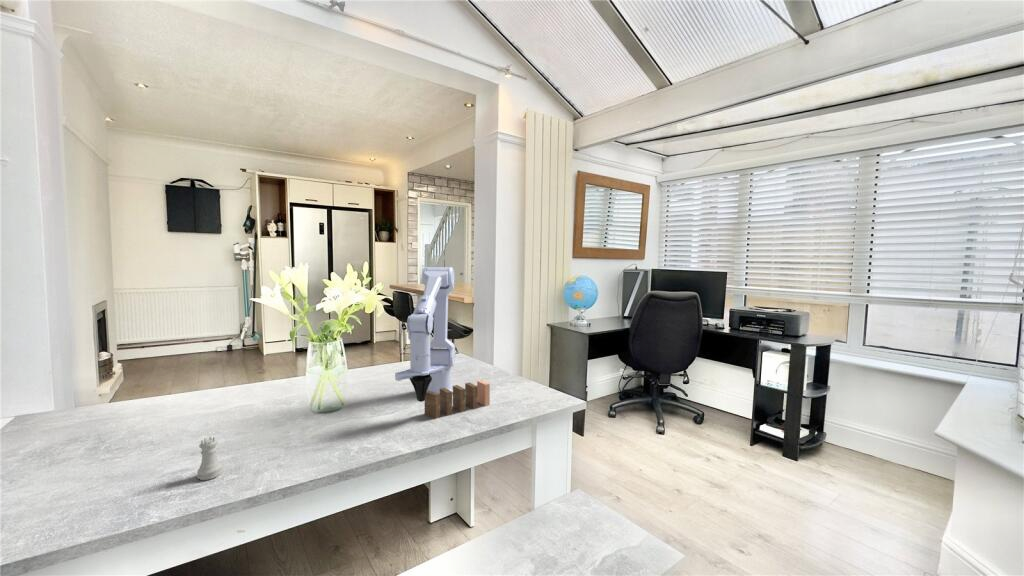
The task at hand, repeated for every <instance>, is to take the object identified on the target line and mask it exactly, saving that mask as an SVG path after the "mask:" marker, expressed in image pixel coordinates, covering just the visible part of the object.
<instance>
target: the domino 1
mask: <svg viewBox="0 0 1024 576" xmlns="http://www.w3.org/2000/svg"><path fill="white" fill-rule="evenodd" d="M424 416H427V417H430V418H433V419H438V418H441V411H440V394H438V393H435V392H432V391H427V392H426V395H425V400H424Z"/></svg>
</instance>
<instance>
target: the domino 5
mask: <svg viewBox="0 0 1024 576" xmlns="http://www.w3.org/2000/svg"><path fill="white" fill-rule="evenodd" d="M490 385H491V384H490V383H489V382H487V381H484V380H482V379H481V380H479V379H478V380H476V386H478V404H480V405H482V406H484V407H487V406H488V407H489V406H490V405H491V404H490V403H491V402H490V401H491V400H490V399H491V398H490V395H491V394H490V393H491V391H490V389H491V388H490Z"/></svg>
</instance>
